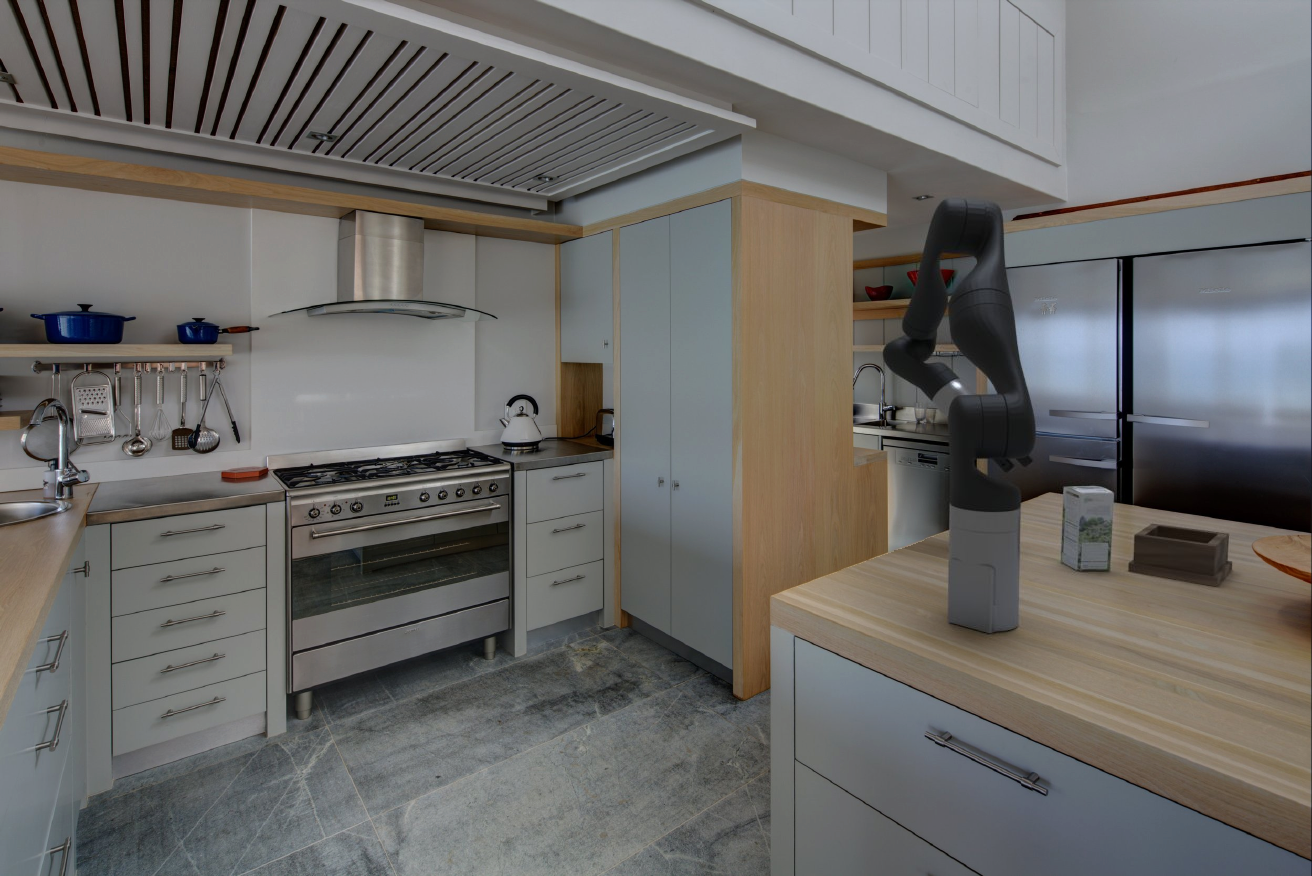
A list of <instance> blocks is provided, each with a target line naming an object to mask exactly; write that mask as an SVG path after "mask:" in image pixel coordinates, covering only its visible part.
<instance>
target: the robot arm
mask: <svg viewBox="0 0 1312 876" xmlns="http://www.w3.org/2000/svg"><path fill="white" fill-rule="evenodd" d="M1004 229H1005V227H1004V217H1003V212H1002V209H1001V208H1000V206H999V205H998V203H995V202H993V201H989V200H978V199H969V198H955V197H954V198H953V197H952V198H951V197H949V198H945V199H943V200H942V201H940V202H939V204H938V206H937V207H936V208H935V211H934V213H933V215H932V218H931V221H930V224H929V227H928V231H927V236H926V238H925V243H924V248H923V250H922V255H921V259H920V263H919V266H918V267H919V268H918V271H917V272H918V273H917V278H916V282H915V285H914V289H913V293H912V295H911V298H910V300H909V303H908V305H907V307H906V310H905V313H904V315H903V319H902V321H901V329H902V332H903V333H904V335H902V336H900V337H898V338H895V339H893V340H891V341H889V342H887V343H886V344H885V345H884V348H883V350H882V358H883V362H884V363H885V365H886V367H887V368H888V369H889V370H890V371H891V372H892V373H893V374H895V375H896V376H898V377H900V378H902V379H903V380H905V381H907V382H908V383H910V384H911V385H913V386H915V387H917V388H918V389H920V390H921V391H922V392H923V394H924V395H925V396H926V397H927V398H928V399H929V400H930V401H931V402H932V403H933V405H934V406H935V407H936V409H937V410H938V411H939V412H940V414H941V415H942V416H944V418H945V419H947V430H948V433H947V434H948V447H949V448H948V449H949V450H948V451H949V452H948V453H949V477H950V478H949V527H948V528H949V529H948V531H949V533H948V535H949V537H948V543H949V544H948V546H949V547H948V564H947V565H948V571H947V572H948V577H947V578H948V579H947V580H948V581H947V583H948V584H947V586H948V589H947V592H948V593H947V598H948V599H947V621H948V622H947V623H951V624H955V625H959V626H962V627H965V628H969V629H972V630H977V631H980V632H985V633H987V634H993V633H994V632H995V633H996V632H1006V631H1010V630H1014V629H1016V628H1017V627H1018V626H1019V624H1020V623H1019V617H1020V615H1019V613H1020V563H1021V562H1020V561H1021V555H1020V554H1021V522H1022V521H1021V517H1022V513H1021V512H1022V507H1021V506H1022V493H1021V490H1020V488H1019V487H1018V486H1017V485H1015V484H1013V483H1010V482H1007V481H1004V480H1001V479H997V478H995V477H992V476H990V475H988V474H986V473H985V472H982V471H981V470H979V469H978V468H977V467H976V464H975V460H980V459H981V460H993V462H995V464H996V465H998V467H999V468H1000V469H1001V470H1002V471H1003V472H1004V473H1010V472H1011V471H1013V470H1014V469H1015V468H1016V463H1015V462H1014V461H1013V459H1014V460H1016V461H1017V462H1018V463H1019V464H1020V465H1021V466H1023V467H1024V468H1026V467H1029V466H1030V465H1032V464H1033V463H1034V462H1035V459H1034V458H1033V457H1032V456H1031V455H1030V454H1032V452H1033V450H1034V449H1035V444H1036V437H1037V436H1036V435H1037V428H1036V426H1037V425H1036V419H1035V412H1034V409H1033V405H1032V400H1031V396H1030V393H1029V389H1028V385H1027V381H1026V377H1025V374H1024V371H1023V367H1022V363H1021V356H1020V352H1019V345H1018V337H1017V336H1018V335H1017V328H1016V319H1015V312H1014V306H1013V305H1014V304H1013V300H1012V296H1011V291H1010V287H1009V281H1008V273H1007V268H1006V267H1007V266H1006V257H1005V253H1006V252H1005V230H1004ZM943 254H952V255H960V256H961V255H962V256H972V257H974V258H975V259H976V264H975V266H974V267H973V269H972V270H971V271H970V272H969V273H968V274H967V275H966V276H965V277H964V278H963V279H962V281H961V282H959V284H958V285H957V286H956V288H955V289H954V291H953V292H952V294H951V296H950V298H949V294H948V289H947V286H946V283H945V280H944V278H943V275H942V274H943V273H942V270H941V257H942V255H943ZM947 311H948V313H947V314H948V323H949V334H950V338H951V341H952V342H953V345H954V346H956V348H957V349H958V351H959V352H960V353H961V354H962V355H963V356H964V357H965V358H966V359H968V361H970V363H972V364H973V365H974V366H975V367H976V368H977V369H979V371H981V372H982V373H983V374H984V375H985V377H987V378H988V381H990V383H991V384H992V386H993V388H994V390H995V392H996V393H992V394H989V393H988V394H987V393H986V394H978V393H977V392H976V391H975V390H974V389H973V388H972V387H971V386H970V385H969V384H968V383H966V382H965V381H964V380H962V379H961V378H960V376H958V375H957V374H956V373H955V372H954V371H953V370H952V369H951V368H950V367H949V366H948V365H947V364H946V363H944V362H942V361H937V362H929V363H927V362H926V361H928V360H929V359H930V358H931V357H932V356H933V354H934V352H935V350H936V345H937V339H938V329H939V327H940V325H941V322H942V320H943V318H944V316H945V314H946V312H947Z"/></svg>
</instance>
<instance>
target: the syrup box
mask: <svg viewBox="0 0 1312 876" xmlns="http://www.w3.org/2000/svg"><path fill="white" fill-rule="evenodd" d="M1114 502H1115V492H1113V491H1112V490H1109V489H1108V488H1105V487H1104V486H1103V487H1102V486H1098V485H1089V486H1088V485H1087V486H1086V485H1085V486H1084V485H1081V486H1063V494H1062V520H1061V521H1062V523H1061V545H1060V550H1061V551H1060V562H1061V563H1063V564H1065V565H1066V566H1067V567H1069V568H1071V569H1073V570H1075V571H1077V572H1079V571H1081V572H1084V571H1088V572H1091V571H1104V572H1105V571H1111V562H1112V561H1111V559H1112V542H1113V541H1112V539H1113V521H1114V520H1113V519H1114Z"/></svg>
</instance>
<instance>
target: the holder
mask: <svg viewBox="0 0 1312 876" xmlns="http://www.w3.org/2000/svg"><path fill="white" fill-rule="evenodd" d="M1133 538H1134V539H1133V558H1132V560H1130V561H1129V562H1128V569H1127V572H1132V573H1136V574H1137V573H1138V574H1143V575H1149V576H1152V577H1153V576H1155V577H1159V578H1160V577H1161V578H1165V579H1171V580H1177V581H1182V582H1189V583H1194V584H1199V585H1205V586H1210V587H1216V588H1217V587H1218V586H1219V585H1220V584H1221V583H1222V582H1223V581H1224V580H1225V578H1227V576H1228V575H1229V574H1230V573H1231V572H1232V571H1231V570H1233V561H1231V560H1229V546H1230V545H1229V542H1230V533H1227V532H1220V531H1219V532H1218V531H1213V530H1205V529H1196V528H1187V527H1180V526H1172V525H1166V524H1158V523H1157V524H1156V523H1150V524H1149V525H1147V526H1146V527H1144V528H1143V529H1141V530H1140V531H1138V532H1137V533H1135V534H1134V536H1133ZM1230 571H1231V572H1230Z"/></svg>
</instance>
